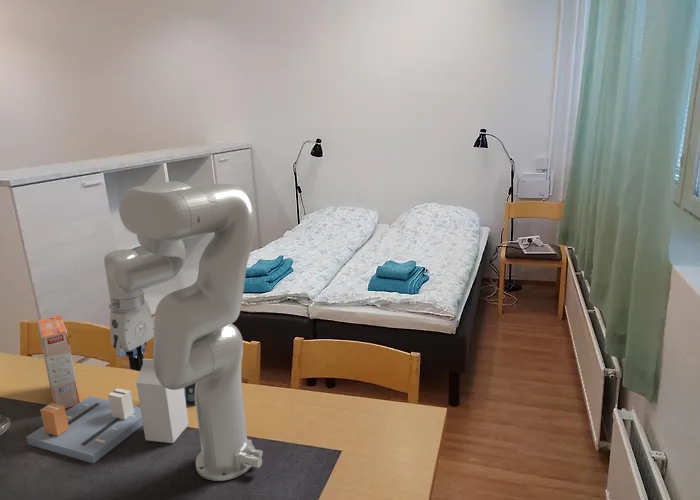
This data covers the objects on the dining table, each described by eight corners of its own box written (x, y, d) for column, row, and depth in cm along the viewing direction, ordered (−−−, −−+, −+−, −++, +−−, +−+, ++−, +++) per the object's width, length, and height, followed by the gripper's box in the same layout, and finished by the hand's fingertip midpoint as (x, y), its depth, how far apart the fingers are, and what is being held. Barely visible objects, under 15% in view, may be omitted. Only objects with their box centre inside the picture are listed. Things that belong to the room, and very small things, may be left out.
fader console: (152, 417, 128) (151, 409, 127) (93, 463, 111) (92, 455, 111) (91, 402, 135) (89, 395, 134) (27, 444, 118) (26, 436, 118)
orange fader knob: (69, 428, 120) (64, 405, 119) (57, 436, 118) (52, 412, 116) (56, 425, 122) (51, 402, 120) (45, 432, 119) (40, 409, 117)
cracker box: (82, 404, 134) (67, 330, 128) (55, 413, 131) (39, 337, 125) (74, 382, 145) (61, 313, 139) (50, 389, 142) (35, 319, 136)
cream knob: (134, 412, 126) (130, 390, 124) (124, 419, 123) (121, 397, 121) (121, 409, 127) (117, 387, 125) (112, 416, 124) (108, 394, 123)
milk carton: (173, 444, 117) (162, 368, 112) (145, 440, 118) (133, 366, 113) (188, 425, 124) (179, 353, 119) (162, 422, 125) (151, 351, 120)
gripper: (116, 315, 116) (127, 386, 122) (161, 292, 129) (169, 357, 135) (90, 310, 119) (102, 381, 124) (138, 288, 132) (146, 352, 137)
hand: (137, 368), depth 129 cm, fingers closed
